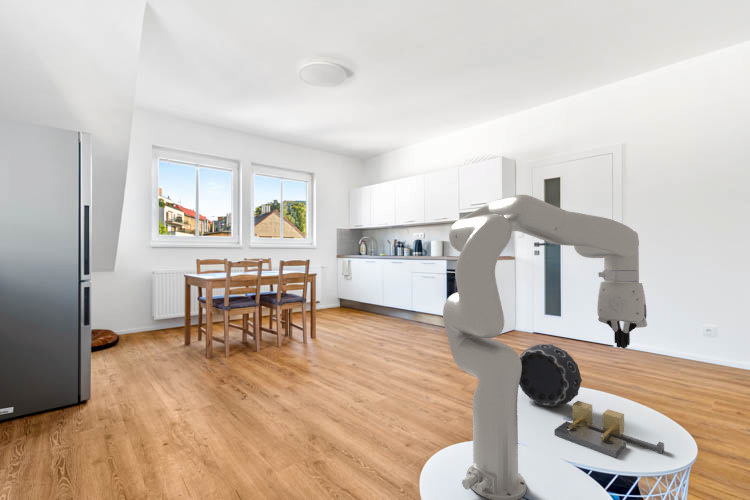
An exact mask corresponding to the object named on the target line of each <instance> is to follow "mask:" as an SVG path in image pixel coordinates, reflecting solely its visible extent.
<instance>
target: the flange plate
mask: <svg viewBox="0 0 750 500" xmlns="http://www.w3.org/2000/svg"><path fill="white" fill-rule="evenodd" d="M571 423H572V422H570V421H564V422H563V423H562V424H560V425H559V426H558V427H556V428H555V429H554V431H553V432H554V436H555V437H559V438H562V439H565V440H567V441H569V442H572V443H575V444H578V445H580V446H583V447H585V448H589V449H591V450H593V451H597V452H599V453H602V454H605V455H607V456H610V457H611V458H612V457H613V458H615V459H617V458H618V456H619V455H620V454H621V453H622V452H623V451H624V450H625V449H626V448H627V442H626V441H624V440H621V439H618V438H615V437H612V436H608V437H607V438H606V439H605V440H601V436H602V435H603V433H600V432H597V431H594V430H591V429H588V428H585V427H582V426H579V425H577V426H575V427H574V428H573V429H569V425H570V424H571Z"/></svg>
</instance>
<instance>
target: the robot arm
mask: <svg viewBox="0 0 750 500" xmlns="http://www.w3.org/2000/svg"><path fill="white" fill-rule="evenodd" d="M513 232H519V233H522V234H525V235H529V236H531V237H533V238H537V239H539V240H542V241H544V242H547V243H549V244H552V245H553V244H554V245H561V246H572V247H574V250H575V252H576V253H577V254H578V255H580V256H581V257H583V258H587V259H588V258H589V259H603V263H604V267H603V271H602V272H601V271H599V272H598V274H597V275H598V277H599V278H602V279H603V281H600V284H599V289H598V295H597V296H598V297H597V310H596V311H597V316H598V318H597V319H598V322H600V323H604V324H606V325H608V326H609V327H610V328H611V329H612V331H613V333H614V335H613V337H614V343H615V344H616V348H621V349H626V348H628V346H630V343H631V341H630V340H631V338H630V335H631V334H630V332H632V331H633V330H634V329H636V328H646V327H648V322H647V320H646V319H647V316H648V315H647V311H648V310H647V301H646V295H645V290H644V286H643V282H640V265H639V264H640V262H639V261H640V257H639V254H640V253H639V252H640V251H639V249H640V248H639V247H640V240H639V234H638V232H637V231H635V230H633V229H632V228H631V227H630V226H628V225H626V224H624V223H622V222H619V221H616V220H614V219H611V218H607V217H604V216H603V217H602V216H596V215H592V214H585V213H582V212H581V213H580V212H574V211H569V210H567V209H566V210H565V209H563V208H561V207H558V206H556V205H553V204H551V203H548V202H546V201H544V200H542V199H540V198H539V199H538V198H536V197H535V196H532V195H527V194H517V195H516V194H515V195H510V196H507V197H502V198H499V199H495V200H492V201H491V202H489V203H487V204H485V205H483V206H482V207H480V208H478V209H476V210H474V211H472V212H471V213H469V214H467V215H464V216H463V217H461V218H459V219H458V220H456V221H455V222H454V223H453V224H452V225H451V227H450V229H449V234H448V240H449V243H450V245H451V247H453V248H454V249H455V251H457V252H459V255H458V258H457V259H456V265H455V272H454V273H455V274H454V275H455V282H456V283H455V284H456V289H457V291H456V292H454V293H452V294H451V295H449V296H448V297H447V299H446V300H445V302H444V306H443V310H442V317H443V318H442V319H443V323H444V328H445V333H446V336H447V339H448V345H449V348H450V353H451V356H452V358H453V361H454V363H455V365H456V366H458V368H459V369H460V370H462V371H463V372H465V373H467V374H469V375H471V376H473V377H475V378H476V379H477V380H478V383H477V386H476V388H475V391H474V393H473V397H472V443H473V444H472V447H473V448H472V453H473V454H472V456H473V457H472V459H473V461H472V463H473V464H472V465H471V466H469V467H468V468H467V470H466V477H465V478H464V479H462V481H461V484H462V487H463V488H464V489H465V490H470V489H472V490H473V491H474V492H475V493H476V494H478V495H480V496H482V497H483V498H485V499H488V500H519V499H521V498H522V497H524V496H525V494H526V491H527V483H526V479H525V478H524V477H523V476H522V475H521V473H519V445H518V444H519V443H518V442H519V440H518V439H519V438H518V436H519V434H518V433H519V431H518V397H519V388H520V385H519V382H520V377H521V372H522V363H521V360H520V355H519V354H518V353H517V351H516V350H515V349H514V348H512V347H511V346H510V345H508V344H507V343H504V342H501V341H499V340H496V339H494V338H496V337H498V336H499V335H500V334H502V332H503V330H504V327H505V315H504V311H503V306H502V302H501V298H500V293H499V290H498V289H499V288H498V284H497V279H496V266H497V263H498V260H499V258H500V256H501V254H502V253H503V251H504V250H505V248H506V247H507V246H508V244H510V241H511V238H512V233H513ZM621 322H623V327H622V326H621Z"/></svg>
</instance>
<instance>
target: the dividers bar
mask: <svg viewBox="0 0 750 500" xmlns="http://www.w3.org/2000/svg"><path fill="white" fill-rule="evenodd" d="M593 416H594V414H593V404H592V403H591V404H590V403H589V402H588V403H587V402H584V401H580V400H576V401H575V402H573V403H572V422H570V423H571V424H570V425H569V429H573V428H574V427H575V426H577V425H579V426H582V427H585V428H588V429H591V430H594V431H597V432H600V433H603V434H604V433H605V432H604V431H603V426H598V425H595V424H593V423H594V421H593V420H594V418H593ZM609 436H612V437H615V438H618V439H621V440H624V441H626V443H630V444H632V445H636V446H637V447H638V446H639V447H642V448H645V449H648V450H650V451H654V452H656V453H657V454H659V455H663V453H664V452H665V443H664V442H662V441H658V443H657V444H654V443H651V442H647V441H645V440H642V439H639V438H635V437H632V436H629V435H625V434H624V433H623V434H622V435H621V436H617V435H614V434H610V435H609Z"/></svg>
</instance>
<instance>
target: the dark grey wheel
mask: <svg viewBox="0 0 750 500" xmlns="http://www.w3.org/2000/svg"><path fill="white" fill-rule="evenodd" d="M519 357H520V360H521V363H522V372H521V377H520V382H519V388H520V389H521V391H522V392H523V393H524V394H525V395H526V396H527V397H528V399H530V400H531V401H533V402H535V403H537V404H539V405H541V406H545V407H550V408H551V407H553V408H554V407H560V406H563V405H566V404H568V403H570V402H571V401H573V399H574V398H575V397H577V396H578V395H579V390H580V388H581V384H582V382H583V379H582V377H581V373H580V369H579V365H578V363H577V362H576V361H575V359H573V357H572V356H571V355H570V353H568V351H567V350H565V349H562V348H560V347H558V346H555V345H553V344H552V343H548V344H546V343H544V344H543V343H542V344H541V343H540V344H535V345H533V346H530V347H528V348H526V349H525V350H524V351H523V352H521V354H520V355H519Z"/></svg>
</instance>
